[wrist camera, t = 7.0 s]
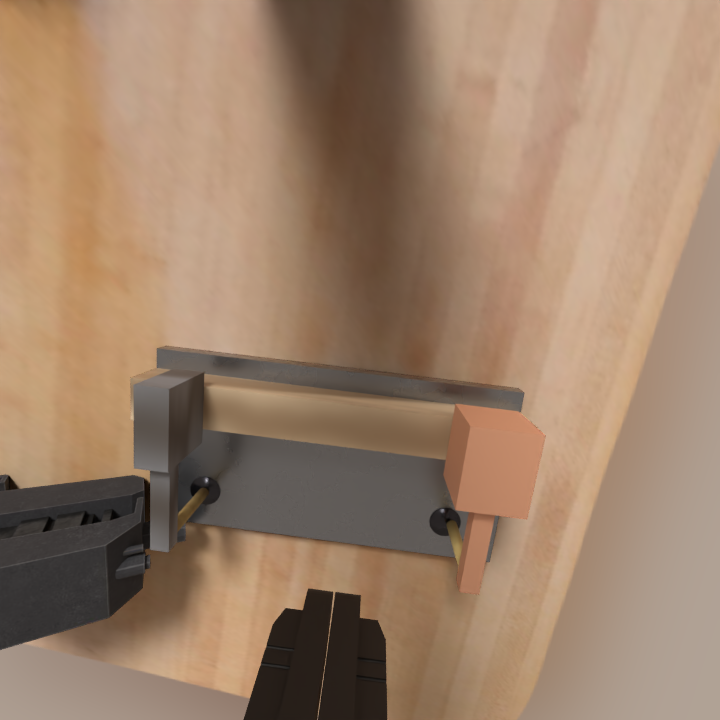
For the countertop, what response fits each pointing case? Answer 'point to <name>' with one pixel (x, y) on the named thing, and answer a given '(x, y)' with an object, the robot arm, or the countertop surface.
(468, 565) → the slider leg
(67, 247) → the countertop surface
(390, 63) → the countertop surface
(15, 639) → the tool
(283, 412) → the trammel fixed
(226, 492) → the hole plate
